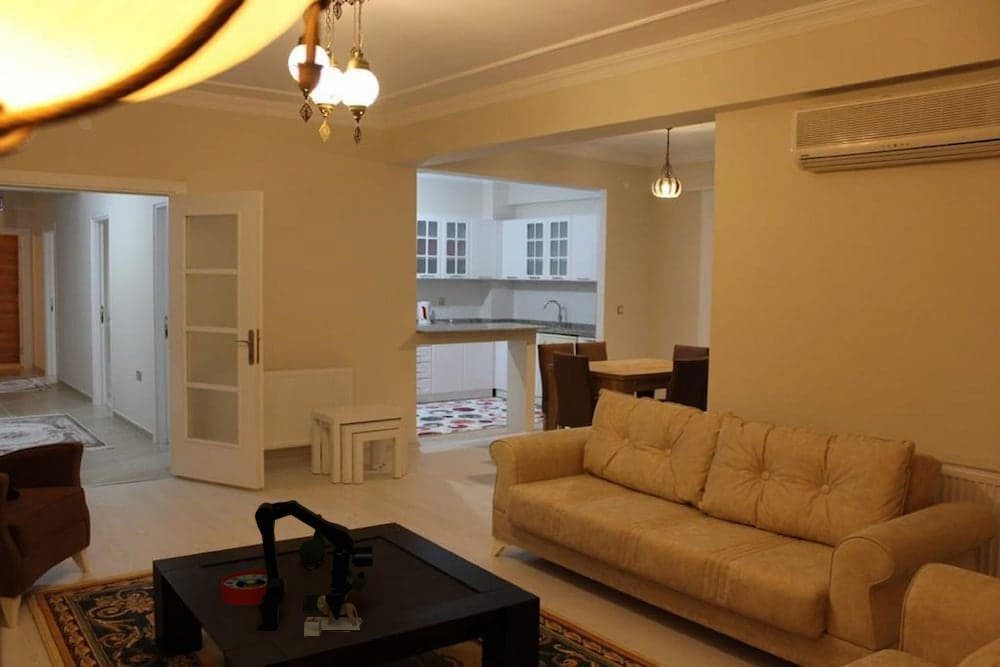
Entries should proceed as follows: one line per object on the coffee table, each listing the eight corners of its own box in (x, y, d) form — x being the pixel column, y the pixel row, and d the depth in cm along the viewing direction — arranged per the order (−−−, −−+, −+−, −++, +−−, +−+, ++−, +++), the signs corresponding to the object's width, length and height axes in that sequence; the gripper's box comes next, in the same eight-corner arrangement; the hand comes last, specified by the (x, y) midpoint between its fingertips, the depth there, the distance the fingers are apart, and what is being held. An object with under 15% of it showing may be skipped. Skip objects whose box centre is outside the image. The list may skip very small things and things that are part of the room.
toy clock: (253, 593, 289) (208, 583, 298) (253, 610, 290) (208, 599, 298) (292, 576, 307) (248, 566, 316) (291, 592, 308) (247, 582, 316)
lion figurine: (315, 626, 276) (316, 598, 275) (318, 620, 281) (318, 593, 281) (361, 626, 277) (362, 599, 276) (363, 620, 282) (364, 593, 282)
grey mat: (318, 618, 284) (318, 616, 284) (366, 619, 284) (366, 618, 284) (311, 630, 274) (311, 628, 274) (361, 631, 274) (361, 630, 274)
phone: (326, 594, 304) (324, 610, 289) (326, 597, 304) (323, 613, 289) (303, 594, 303) (299, 610, 288) (303, 598, 303) (299, 614, 288)
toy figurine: (307, 558, 350) (294, 573, 325) (309, 511, 351) (296, 522, 326) (330, 558, 350) (319, 573, 325) (332, 512, 351) (321, 523, 326)
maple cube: (307, 630, 274) (307, 616, 274) (321, 631, 274) (321, 616, 274) (304, 636, 269) (304, 621, 269) (318, 637, 269) (318, 622, 269)
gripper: (361, 577, 269) (360, 626, 270) (370, 558, 287) (368, 604, 288) (325, 576, 269) (324, 625, 269) (336, 557, 287) (335, 603, 288)
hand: (339, 614), depth 279 cm, fingers open, 9 cm apart
